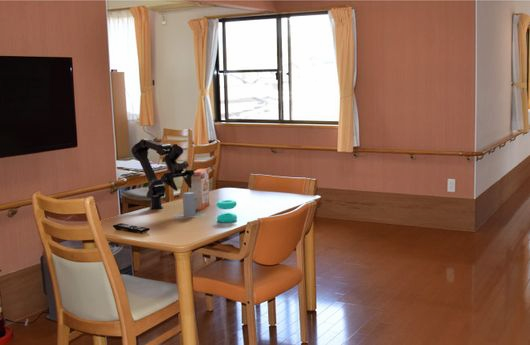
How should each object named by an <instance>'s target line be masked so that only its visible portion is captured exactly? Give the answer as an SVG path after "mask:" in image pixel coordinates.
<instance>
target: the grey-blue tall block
mask: <svg viewBox="0 0 530 345" xmlns="http://www.w3.org/2000/svg"><path fill="white" fill-rule="evenodd" d="M182 207H183V208H182V209H183V214H184V216H187V217H191V216H196V213H197V212H196V210H197V209H195V193H193V192H192V191H188V192H182Z"/></svg>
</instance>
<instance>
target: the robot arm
mask: <svg viewBox="0 0 530 345" xmlns="http://www.w3.org/2000/svg"><path fill="white" fill-rule="evenodd" d="M150 149H151V150H153V151H156V153H157V154H158V155H159V156H163V157H162V160H161V162H162V163H165V165H166V167H167V169H166V171H167V172H165V173H163V175H161V177H160V179H159V178H158V177H157V175H156V173H155V171H154V169H153V166H152V164H151V162H150V160H149V158H148V155H149V150H150ZM183 153H184V149H183V148H182V147H181V146H180V145H178V143H173V144H171V143H160V142H157V141H155V140H152V139H150V138H142V139H141V140H139V141H138V142H136V143H135V144H134V145H133V146H132V147H131V154H132V156H133V158H134V159H135V160H137V161H139V164H140V166H141V167H142V170H143V173H144V174H145V177H146V178H147V181H148V191H147V192H146V198H148V199H150V206H149V208H150V209H151V210H158V209H163V208H164V207H163V206H162V197H165V195H166V187H165V186H166V185H167V186H169V187H170V188H172V189H173V190H174V191H176V192H178V187H177V185H176V183H175V181H174V179H175V178H181V177H183V178H182V179H183V180H184V182H185V184H186V185H187V187H188V188H189V189H192V175H193V174H194V171H195V170H194V169H193V168H188V167H190V165H189V162H188V161H187V160H185V161H182V162H178V161H177V160H178V159H179V158H180V157H181V156H182V155H183Z"/></svg>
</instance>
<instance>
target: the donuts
mask: <svg viewBox="0 0 530 345" xmlns="http://www.w3.org/2000/svg"><path fill="white" fill-rule="evenodd" d="M216 207H217V208H218V209H219V210H231V209H234V208H236V207H237V201H235V200H233V199H221V200H218V201H216ZM216 219H217V222H220V223H233V222H236V220H237V219H238V215H237V214H235V213H233V212H223V213H220V214H218V215H217V217H216Z"/></svg>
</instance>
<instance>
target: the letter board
mask: <svg viewBox="0 0 530 345" xmlns="http://www.w3.org/2000/svg"><path fill="white" fill-rule="evenodd" d="M173 217H174V218H175V220H185V219H187V220H188V219H194V218H195V219H197V218H205V217H206V218H207V217H208V216H207V214H205V213H204V212H203V211H202V212H196V216H191V217H187V216H184V213H180V214H173Z"/></svg>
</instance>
